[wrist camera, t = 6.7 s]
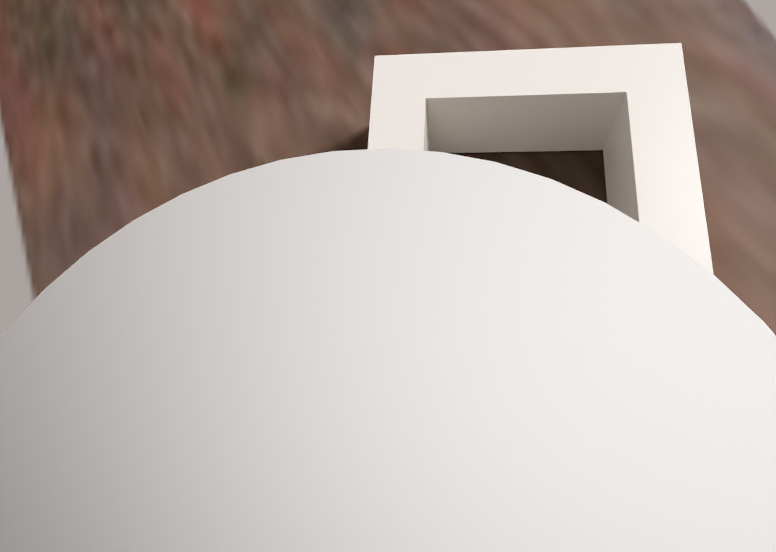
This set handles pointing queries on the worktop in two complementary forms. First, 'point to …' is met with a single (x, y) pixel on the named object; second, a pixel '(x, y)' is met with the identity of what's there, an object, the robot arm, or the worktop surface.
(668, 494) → the white banded cylinder
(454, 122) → the clip bracket
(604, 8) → the worktop surface
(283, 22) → the worktop surface
